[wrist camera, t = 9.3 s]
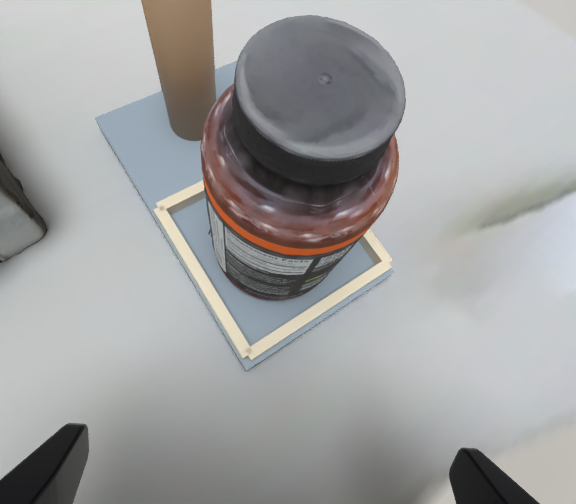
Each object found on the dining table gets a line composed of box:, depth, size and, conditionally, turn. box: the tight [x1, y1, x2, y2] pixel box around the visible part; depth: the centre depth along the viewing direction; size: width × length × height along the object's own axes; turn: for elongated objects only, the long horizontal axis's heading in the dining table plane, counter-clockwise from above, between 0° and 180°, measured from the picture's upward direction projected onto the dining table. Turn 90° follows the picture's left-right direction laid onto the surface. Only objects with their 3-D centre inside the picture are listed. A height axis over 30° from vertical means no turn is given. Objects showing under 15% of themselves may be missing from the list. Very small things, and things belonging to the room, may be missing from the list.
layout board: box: [95, 0, 394, 371], centre depth 17 cm, size 15×9×9 cm, turn 33°
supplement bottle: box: [200, 15, 406, 301], centre depth 14 cm, size 6×6×11 cm
